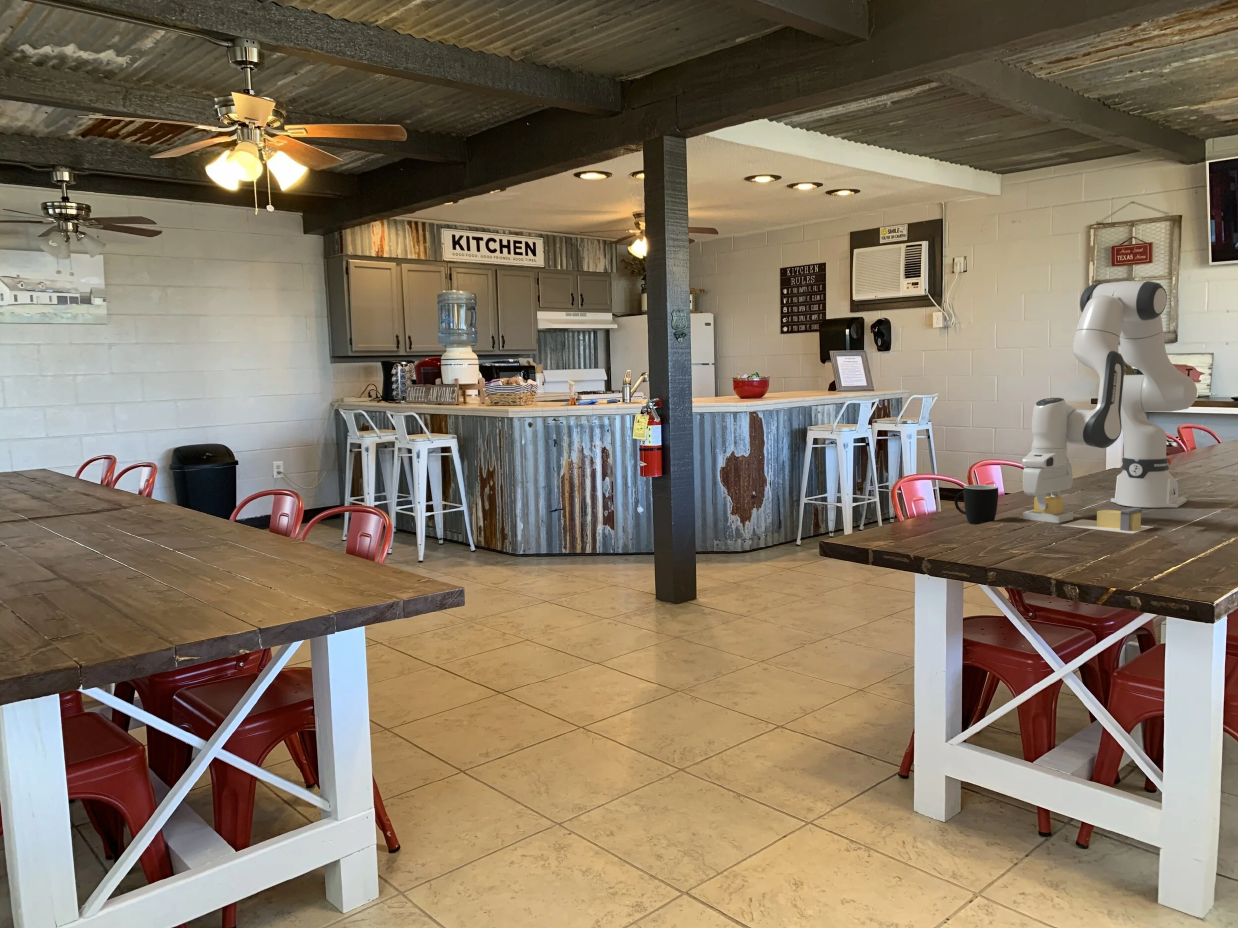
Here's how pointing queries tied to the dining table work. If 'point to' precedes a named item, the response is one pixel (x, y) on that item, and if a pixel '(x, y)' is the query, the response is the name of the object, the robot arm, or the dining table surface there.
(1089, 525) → the board
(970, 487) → the mug
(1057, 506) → the stub
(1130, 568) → the dining table surface
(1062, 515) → the stub tray
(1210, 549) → the dining table surface
